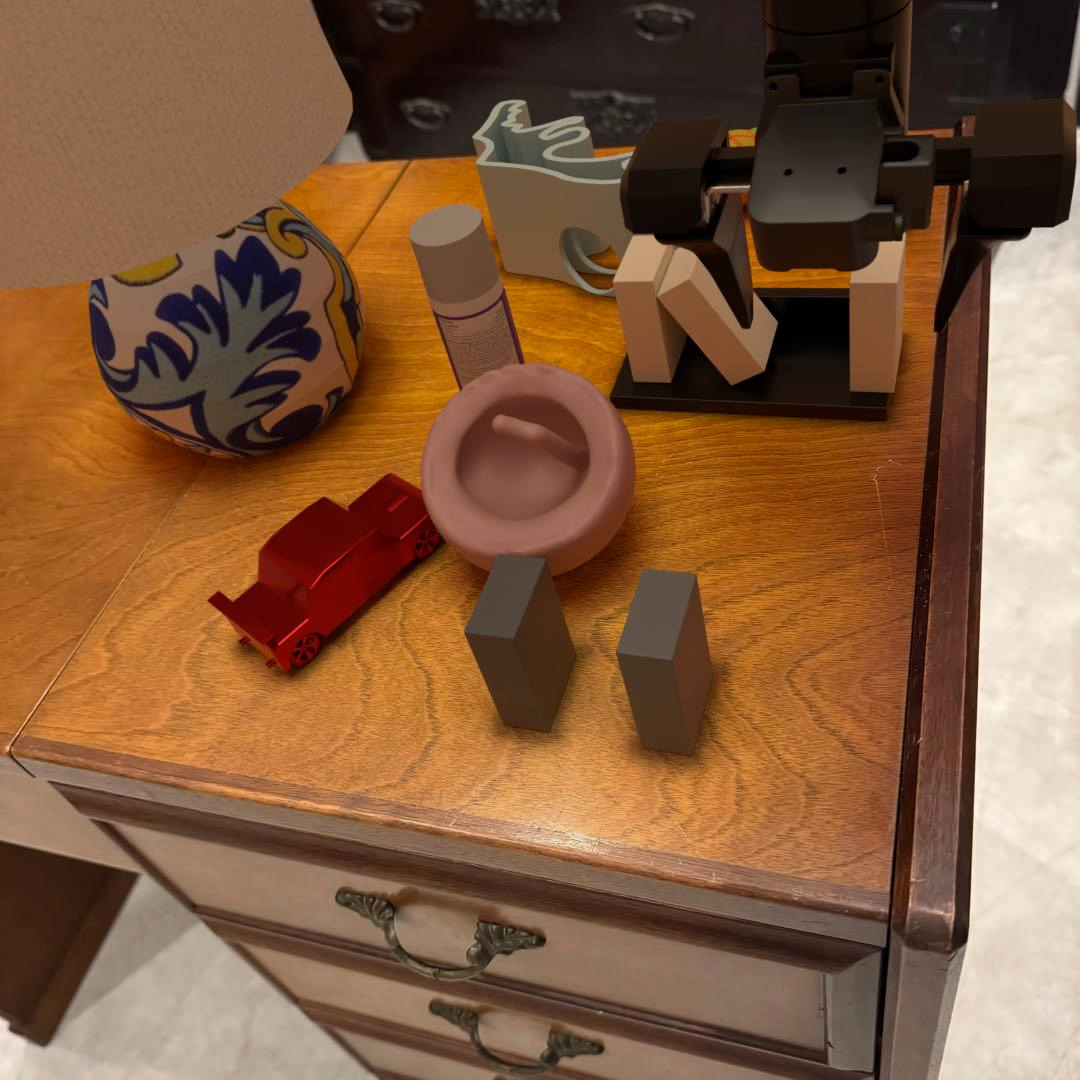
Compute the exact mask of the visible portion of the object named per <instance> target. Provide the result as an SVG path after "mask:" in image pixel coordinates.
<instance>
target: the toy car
mask: <svg viewBox="0 0 1080 1080" xmlns="http://www.w3.org/2000/svg"><path fill="white" fill-rule="evenodd" d="M423 533H424V535H423V536H422V534H423ZM440 538H441V534H440V533H439V532H438V530H437V529H436V527H435V525H434V524H433V522H432V520H431V518H430V516H429V514H428V511H427V509H426V506H425V503H424V499H423V496H422V490H421V487H420V488H419V487H418V486H416V485H415V484H413V483H411V482H409V481H408V480H406V479H404V478H402V477H400V476H399V475H398V474H397V475H396V473H393V472H389V473H386V474H385V475H384V476H382V477H381V478H380V479H379V480H377V481H376V482H375V483H374V484H372V485H371V486H369V488H367V490H365V491H364V492H362V493H361V495H359V496H358V497H357V498H355V499H354V500H352V502H351V503H350V504H349V505H346V504H344V503H342V502H339V501H336V500H334V499H333V498H329V497H327V496H321V497H319V499H317V500H316V501H315V502H312V503H311V504H310V505H308V506H306V507H305V508H304V509H302V511H300V512H299V513H298V514H297V515H295V516H293V517H292V519H290V520H289V521H287V523H285V524H284V525H283V526H282V527H281V528H279V529H278V530H277V531H275V532H274V533H273V534H271V536H270V537H269V538H267V541H266V542H265V543H264V544H263V545H262V547H261V548H260V549H259V550H258V554H257V555H258V558H257V581H256V582H254V583H253V584H252V585H251V586H250V587H248V588H247V589H246V590H245V591H243V592H242V593H241V594H240V595H239V596H238V597H236V598H235V599H234V600H232V599H230V598H229V597H228V596H227V595H225V594H224V593H223V592H222V591H220V590H217V591H216V592H215V593H214V594H213V595H211V596H210V597H209V598H207V600H206V602H207V603H208V604H209V605H211V606H212V607H213V608H214V609H216V610H217V611H218V612H219V613H220V614H222V615H223V616H224V617H225V618H226V620H227V621H228V622H229V625H231V627H232V628H233V630H234V631H235V633H236V634H237V635H239V636H240V637H241V638H240V639H239V640H238V641H237V643H238V644H239V645H240V646H242V647H245V646H246V645H247V644H248V643H249V644H250V645H251V646H252V647H253V648H255V649H256V650H257V651H259V653H261V654H262V655H263V656H265V657H266V658H267V659H268V660H267V661H266V662H265V663H264V665H265V666H266V667H267V668H268V669H269V670H271V669H272V668H273V667H275V666H277V667H278V668H279V669H280V670H282V671H283V672H284V673H286V672H287V671H289V670H290V669H291V668H292V665H293V666H296V667H301V666H305V665H307V664H309V663H310V662H312V661H313V659H314V658H315V657H316V656H317V655H318V652H319V651H320V648H321V640H320V637H319V635H317V634H316V633H319V634H320V635H322V636H323V637H324V638H326V637H327V636H328V635H329V634H331V632H332V631H334V630H335V629H337V627H338V626H340V625H341V624H342V623H343V622H344V621H345V620H346V619H348V618H349V617H350V616H351V615H352V614H353V613H354V612H356V610H357V609H359V608H360V607H361V606H362V605H363V604H365V603H366V602H367V601H368V600H369V599H370V598H371V597H373V596H374V595H375V594H376V593H377V592H378V591H379V590H380V589H382V588H383V586H385V585H386V584H387V583H388V582H389V581H391V579H393V578H394V577H395V576H397V574H399V572H401V571H402V570H403V569H404V568H405V567H406V566H408V564H410V563H411V562H412V561H413V560H414V559H415V557H417V558H419V559H425V558H428V556H431V555H432V553H434V551H436V549H437V547H438V545H439V542H440ZM417 544H421V545H420V546H419V548H417ZM307 640H308V643H307ZM300 641H302V643H299V642H300ZM306 643H307V644H306ZM297 651H299V652H298V654H297V655H294V653H295V652H297Z"/></svg>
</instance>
